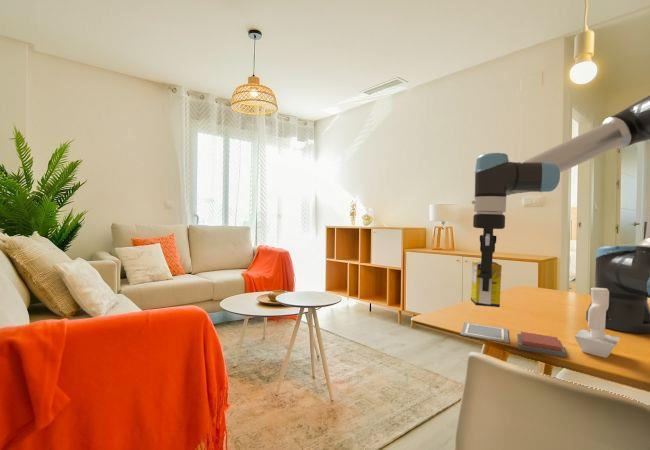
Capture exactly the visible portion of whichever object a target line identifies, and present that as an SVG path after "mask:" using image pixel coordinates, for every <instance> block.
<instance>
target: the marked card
mask: <svg viewBox="0 0 650 450" xmlns="http://www.w3.org/2000/svg"><path fill="white" fill-rule="evenodd" d="M460 336H464V337H470V338H476V339H482V340H487V341H491V342H497V343H498V342H499V343H504V344H509V343H510V341H509V340H510V338H509V329H508V328H505V327H498V326H492V325H485V324H478V323H472V322H467V321H466V322H465V321H464V322H463V325H462V328H461V331H460Z"/></svg>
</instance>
